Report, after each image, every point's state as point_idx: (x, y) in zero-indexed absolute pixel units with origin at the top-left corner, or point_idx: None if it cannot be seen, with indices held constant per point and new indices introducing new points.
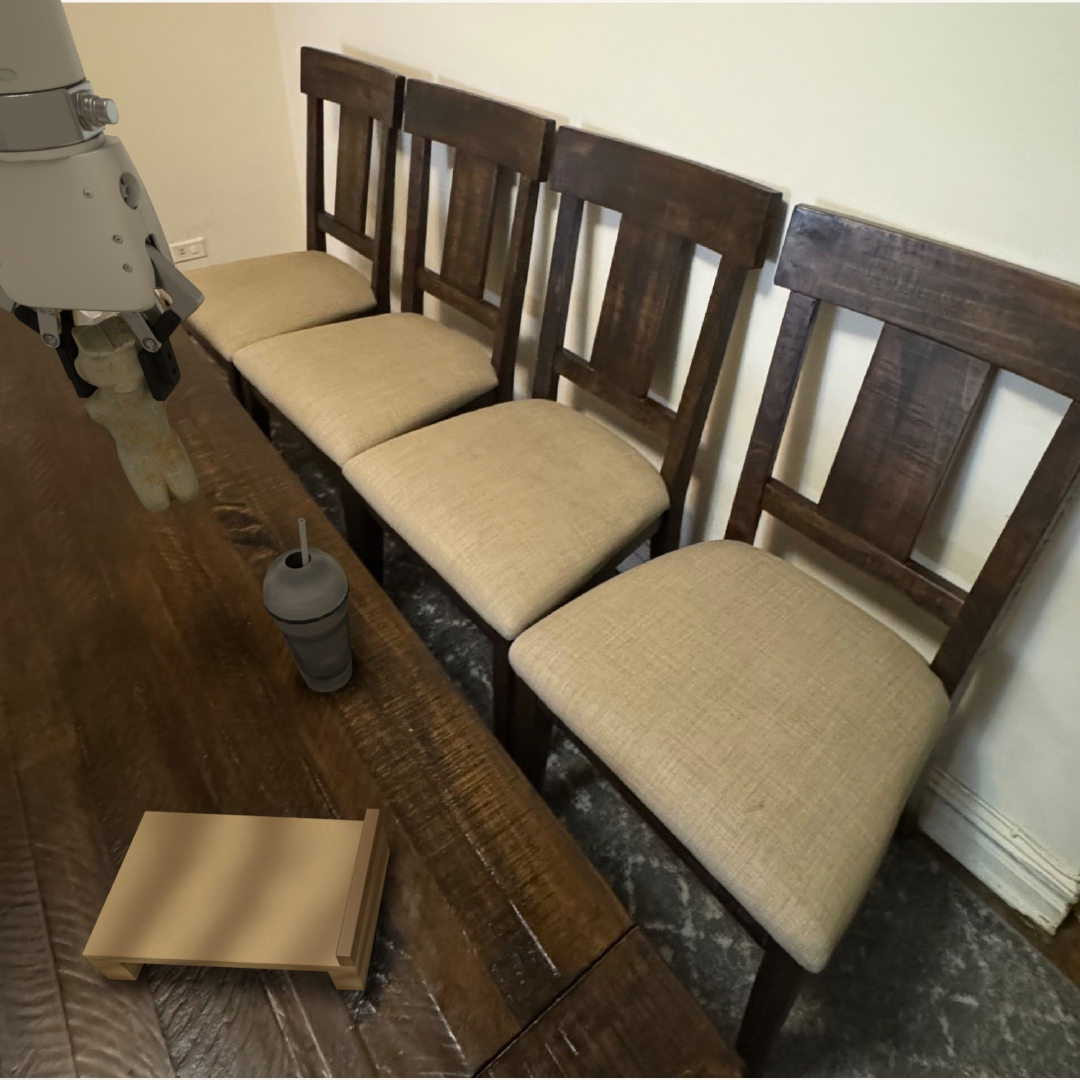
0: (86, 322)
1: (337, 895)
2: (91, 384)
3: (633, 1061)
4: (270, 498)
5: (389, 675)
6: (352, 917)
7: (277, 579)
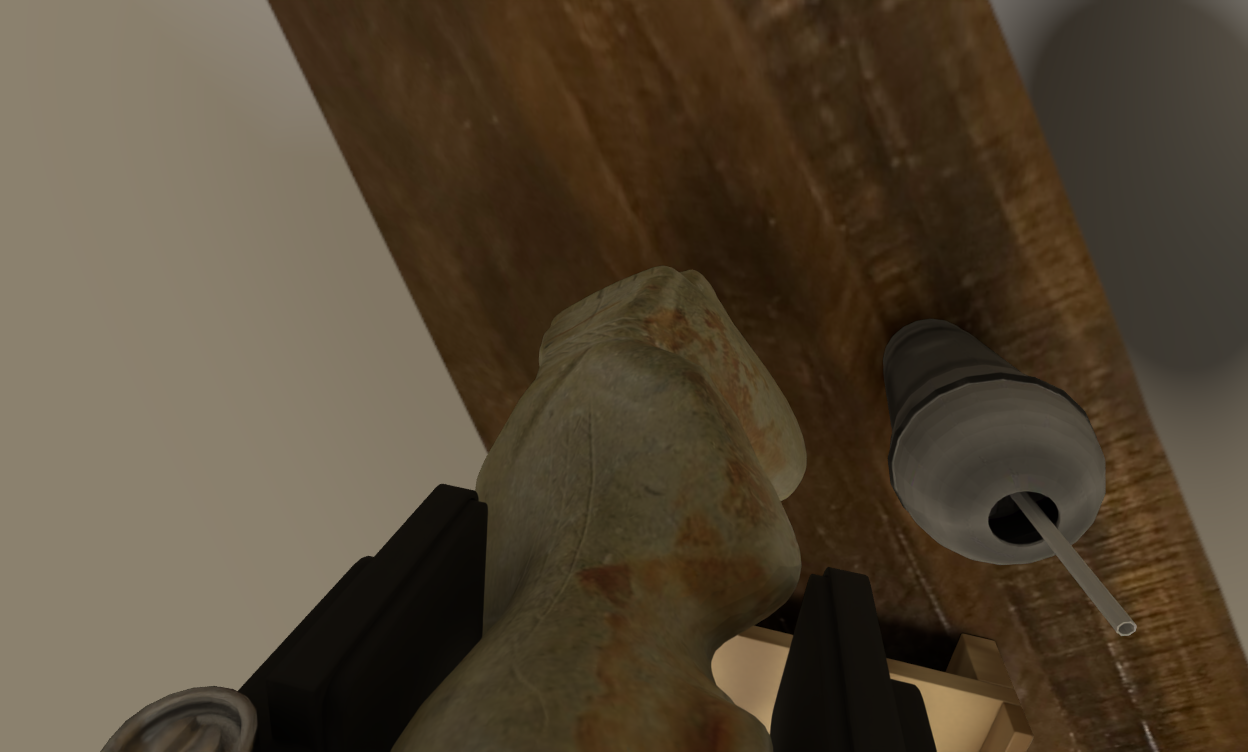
0: None
1: None
2: (467, 640)
3: None
4: None
5: (1043, 378)
6: None
7: (959, 539)
